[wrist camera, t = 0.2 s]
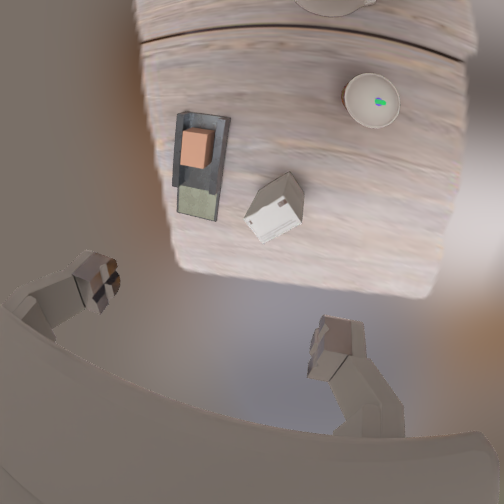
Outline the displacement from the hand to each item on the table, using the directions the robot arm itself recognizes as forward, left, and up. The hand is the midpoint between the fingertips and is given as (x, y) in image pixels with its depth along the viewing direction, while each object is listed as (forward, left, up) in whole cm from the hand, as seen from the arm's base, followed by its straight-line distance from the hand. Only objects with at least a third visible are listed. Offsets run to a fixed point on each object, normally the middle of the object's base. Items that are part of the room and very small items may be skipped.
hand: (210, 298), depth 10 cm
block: (+8, -18, -47) cm, 51 cm away
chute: (+13, -18, -47) cm, 52 cm away
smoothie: (-9, +10, -48) cm, 49 cm away
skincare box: (+14, 0, -48) cm, 50 cm away
